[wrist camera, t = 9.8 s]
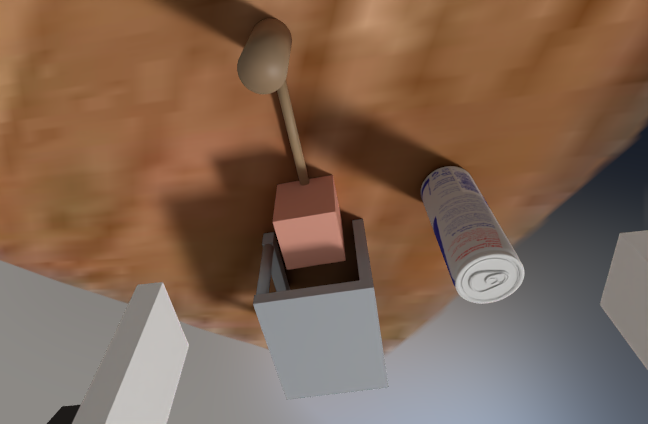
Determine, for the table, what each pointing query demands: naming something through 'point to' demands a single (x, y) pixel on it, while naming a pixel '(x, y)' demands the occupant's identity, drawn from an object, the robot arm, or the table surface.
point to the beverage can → (470, 237)
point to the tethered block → (306, 194)
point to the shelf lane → (321, 328)
